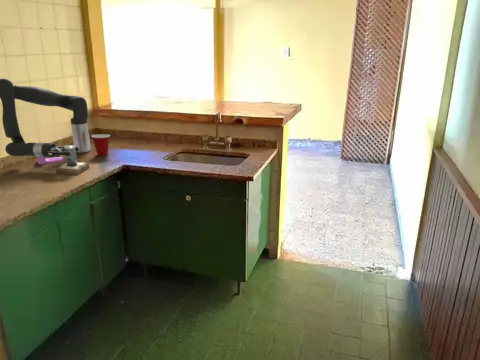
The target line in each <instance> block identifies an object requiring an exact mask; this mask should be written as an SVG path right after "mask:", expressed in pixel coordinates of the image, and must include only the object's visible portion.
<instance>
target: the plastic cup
mask: <svg viewBox="0 0 480 360" xmlns="http://www.w3.org/2000/svg"><path fill="white" fill-rule="evenodd" d="M90 137H91V138H92V141H93V144H94V147H95V151H96V154H97V156H99V157H104V156H107V155H108V153H109V144H110V137H111V135H110V134H108V133H107V134H104V133H103V134H101V133H100V134H91V136H90Z"/></svg>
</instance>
